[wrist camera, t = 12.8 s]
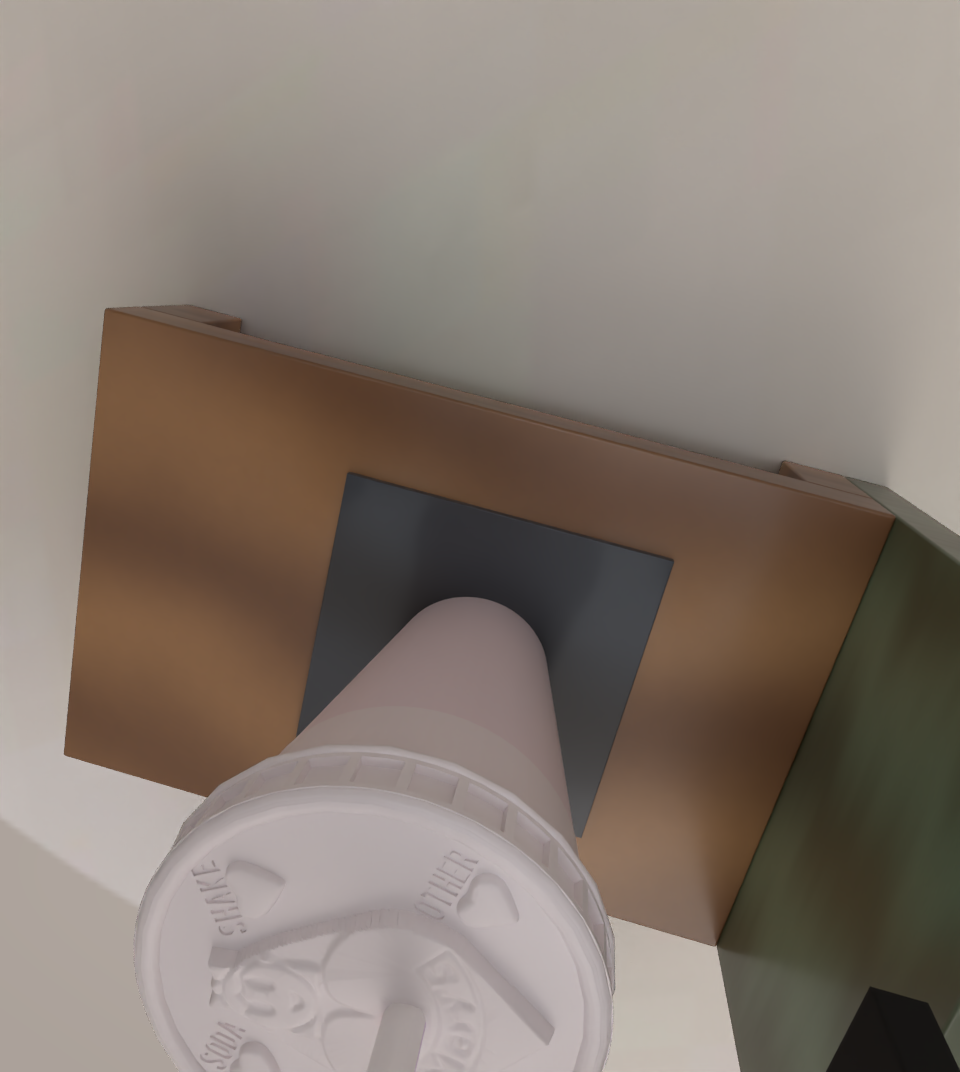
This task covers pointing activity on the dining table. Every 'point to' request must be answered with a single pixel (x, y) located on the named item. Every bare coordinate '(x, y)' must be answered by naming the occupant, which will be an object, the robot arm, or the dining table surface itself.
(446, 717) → the smoothie
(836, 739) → the wooden board with backrest
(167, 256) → the dining table surface
